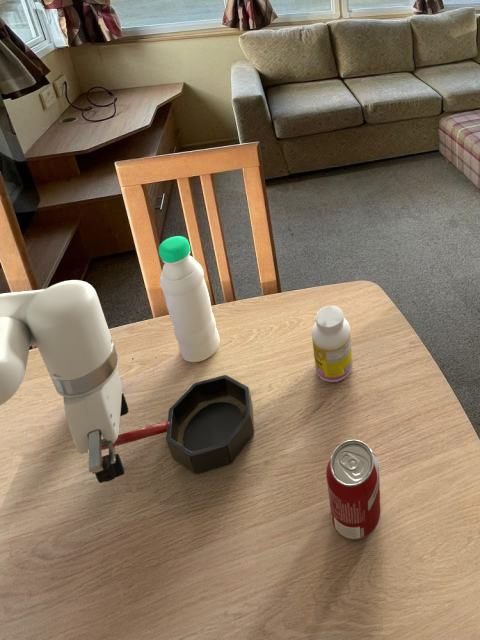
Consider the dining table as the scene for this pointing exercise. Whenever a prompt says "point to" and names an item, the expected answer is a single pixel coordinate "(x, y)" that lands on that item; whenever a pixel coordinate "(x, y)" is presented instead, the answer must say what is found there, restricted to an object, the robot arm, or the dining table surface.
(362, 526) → the soda can
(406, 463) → the dining table surface
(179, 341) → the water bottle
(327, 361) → the supplement bottle
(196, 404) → the pan
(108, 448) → the robot arm
